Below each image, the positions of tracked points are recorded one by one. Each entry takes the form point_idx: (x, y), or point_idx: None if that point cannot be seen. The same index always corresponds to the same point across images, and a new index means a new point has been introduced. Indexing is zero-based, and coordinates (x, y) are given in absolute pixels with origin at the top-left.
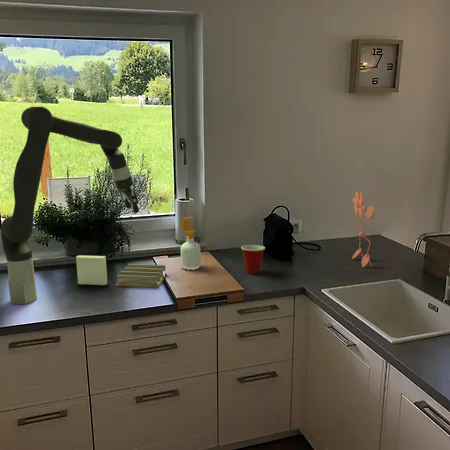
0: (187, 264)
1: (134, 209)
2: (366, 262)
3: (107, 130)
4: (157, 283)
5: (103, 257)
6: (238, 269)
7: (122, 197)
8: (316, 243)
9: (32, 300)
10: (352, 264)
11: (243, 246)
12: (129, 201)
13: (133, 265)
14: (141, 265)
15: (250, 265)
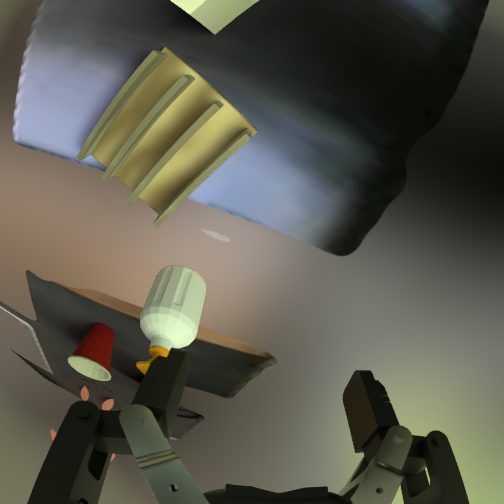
0: (158, 278)
1: (161, 376)
2: (82, 391)
3: None
4: (97, 154)
5: (178, 2)
6: (125, 327)
7: (426, 452)
8: (186, 419)
9: None
10: (98, 389)
11: (103, 369)
12: (166, 455)
13: (228, 147)
14: (206, 169)
15: (87, 335)
